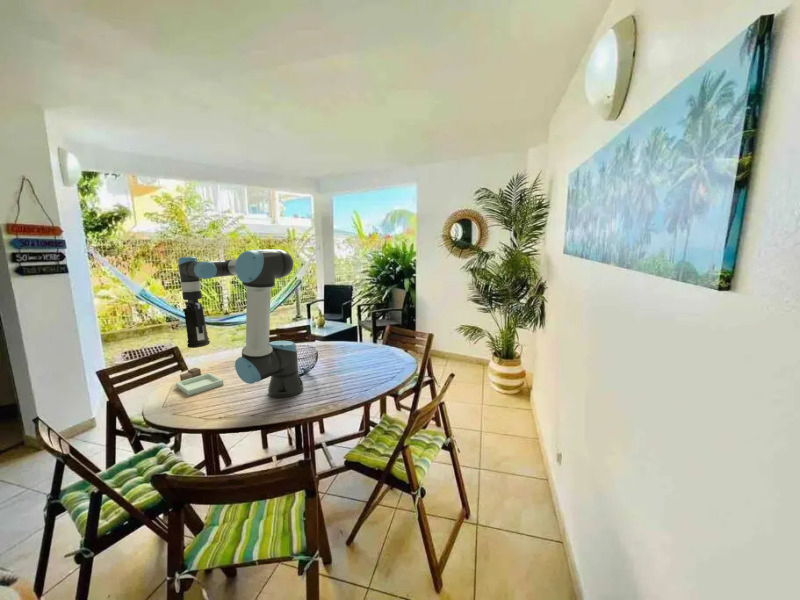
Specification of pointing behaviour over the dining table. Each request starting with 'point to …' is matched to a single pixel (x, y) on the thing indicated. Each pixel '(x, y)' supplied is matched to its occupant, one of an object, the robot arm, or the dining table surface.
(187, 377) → the walnut block
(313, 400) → the dining table surface
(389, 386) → the dining table surface
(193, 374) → the walnut block
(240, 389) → the dining table surface
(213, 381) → the tray
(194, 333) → the container
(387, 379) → the dining table surface
